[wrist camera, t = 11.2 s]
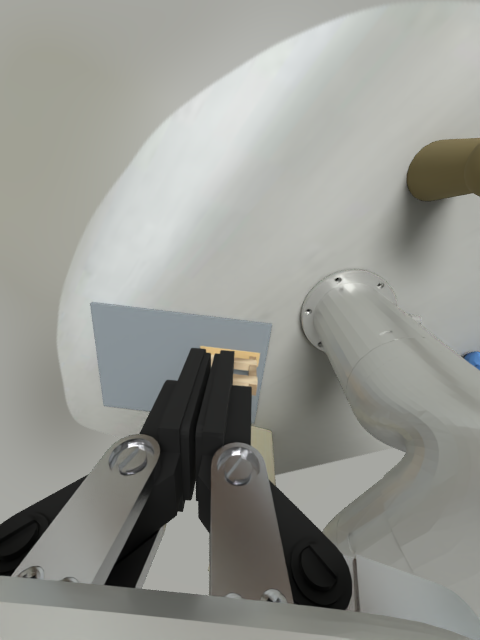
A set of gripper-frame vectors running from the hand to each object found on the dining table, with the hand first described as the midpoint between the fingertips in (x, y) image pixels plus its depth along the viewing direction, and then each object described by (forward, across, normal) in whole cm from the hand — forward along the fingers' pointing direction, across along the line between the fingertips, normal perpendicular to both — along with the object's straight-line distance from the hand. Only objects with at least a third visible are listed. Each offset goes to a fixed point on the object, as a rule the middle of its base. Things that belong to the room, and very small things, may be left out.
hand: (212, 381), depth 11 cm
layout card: (+27, +8, +19) cm, 34 cm away
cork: (+27, -21, -10) cm, 36 cm away
